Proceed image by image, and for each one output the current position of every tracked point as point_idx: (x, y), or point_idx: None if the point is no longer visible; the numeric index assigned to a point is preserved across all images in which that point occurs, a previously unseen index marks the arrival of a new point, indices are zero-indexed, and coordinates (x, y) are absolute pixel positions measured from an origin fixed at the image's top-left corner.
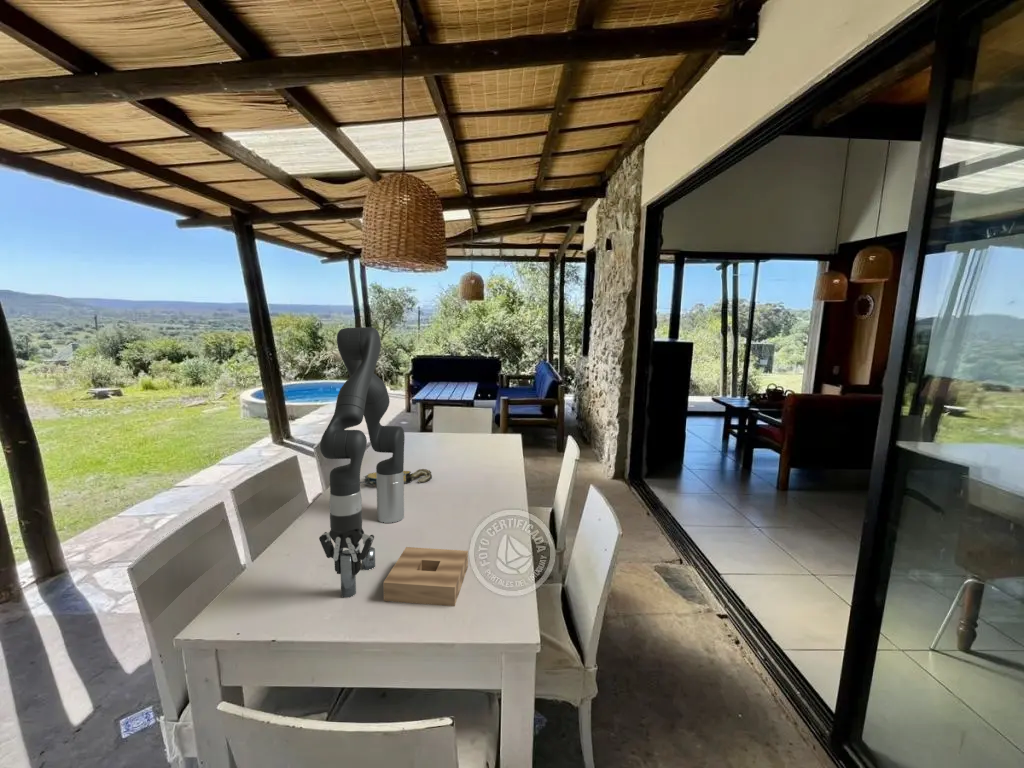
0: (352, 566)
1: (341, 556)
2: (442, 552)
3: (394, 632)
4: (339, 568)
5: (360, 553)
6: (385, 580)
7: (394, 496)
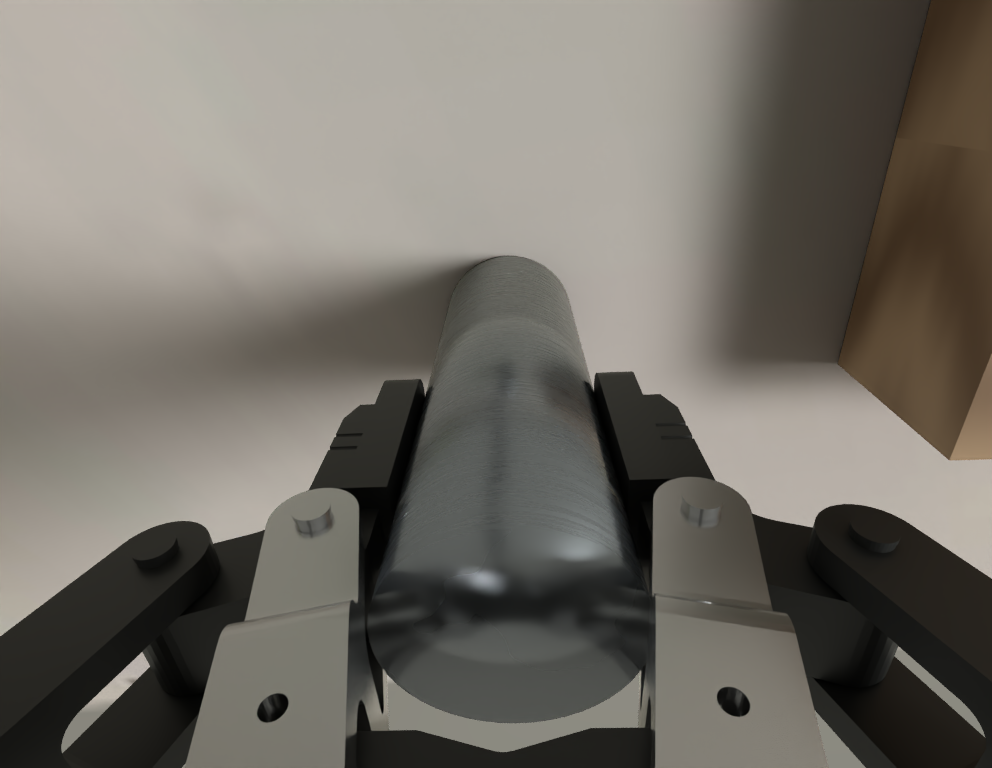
0: None
1: (460, 710)
2: None
3: None
4: None
5: (778, 609)
6: (972, 427)
7: None
